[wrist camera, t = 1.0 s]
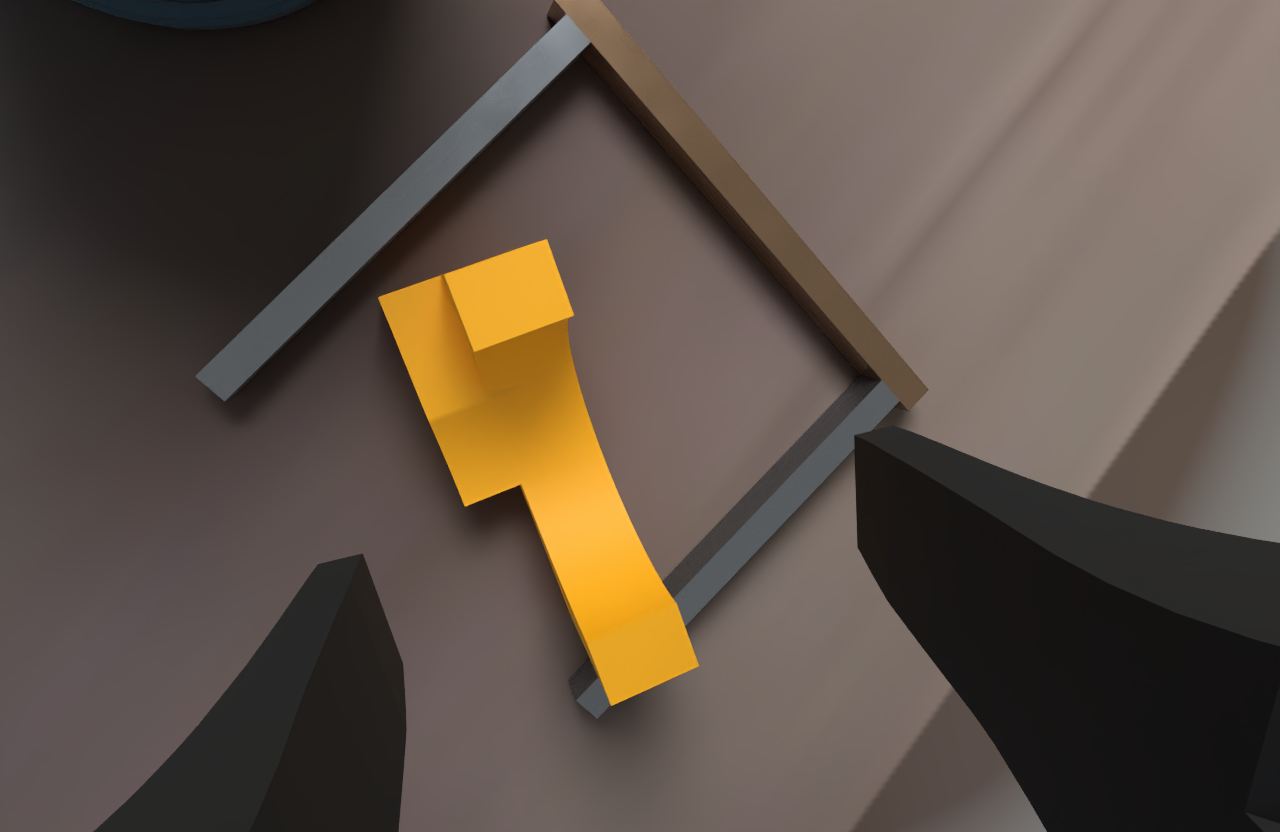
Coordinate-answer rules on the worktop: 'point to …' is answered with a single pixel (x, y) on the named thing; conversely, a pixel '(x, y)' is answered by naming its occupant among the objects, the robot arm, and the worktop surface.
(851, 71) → the worktop surface
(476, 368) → the pipe clamp
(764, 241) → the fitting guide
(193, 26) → the canister
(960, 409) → the worktop surface
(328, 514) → the worktop surface
